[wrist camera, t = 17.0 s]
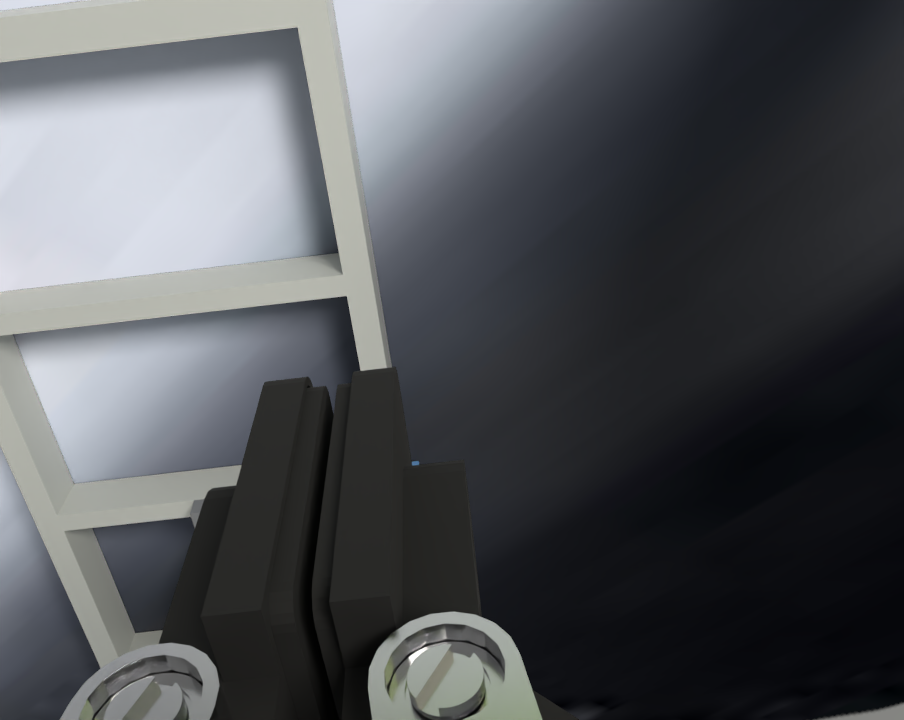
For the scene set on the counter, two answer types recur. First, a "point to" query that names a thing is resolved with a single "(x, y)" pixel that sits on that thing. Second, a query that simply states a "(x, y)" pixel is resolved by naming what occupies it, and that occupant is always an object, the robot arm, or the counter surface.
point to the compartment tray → (170, 289)
